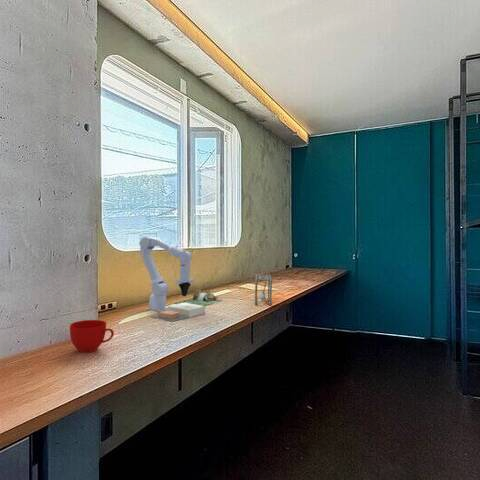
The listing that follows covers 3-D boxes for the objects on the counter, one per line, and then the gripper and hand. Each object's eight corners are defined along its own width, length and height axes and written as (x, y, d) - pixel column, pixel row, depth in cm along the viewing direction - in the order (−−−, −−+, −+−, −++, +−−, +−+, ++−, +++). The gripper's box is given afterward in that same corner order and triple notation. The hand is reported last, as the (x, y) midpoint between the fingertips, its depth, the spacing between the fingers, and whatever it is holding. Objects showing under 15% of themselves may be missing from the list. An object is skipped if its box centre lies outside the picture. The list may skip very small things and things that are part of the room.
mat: (150, 317, 198) (150, 316, 198) (166, 313, 208) (166, 312, 208) (173, 321, 189) (173, 320, 189) (188, 317, 199) (188, 316, 199)
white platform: (167, 313, 208) (167, 306, 208) (183, 309, 220) (183, 302, 220) (188, 317, 200) (189, 310, 200) (204, 313, 212) (205, 306, 211)
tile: (167, 310, 203) (167, 314, 203) (158, 312, 197) (158, 316, 197) (179, 312, 198) (179, 317, 198) (170, 314, 192) (170, 319, 192)
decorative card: (201, 286, 265) (226, 289, 256) (201, 297, 265) (225, 300, 256) (174, 292, 235) (200, 296, 226) (174, 304, 236) (200, 308, 227)
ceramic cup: (103, 357, 133) (104, 330, 133) (61, 353, 136) (62, 326, 136) (121, 347, 146) (121, 322, 146) (82, 343, 149) (83, 318, 149)
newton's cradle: (271, 306, 237) (272, 279, 237) (254, 306, 238) (255, 278, 237) (269, 298, 267) (270, 274, 267) (254, 297, 268) (255, 273, 267)
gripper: (181, 273, 204) (180, 298, 204) (198, 272, 216) (197, 295, 216) (172, 272, 208) (171, 296, 208) (189, 271, 220) (188, 293, 220)
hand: (184, 295), depth 212 cm, fingers closed
